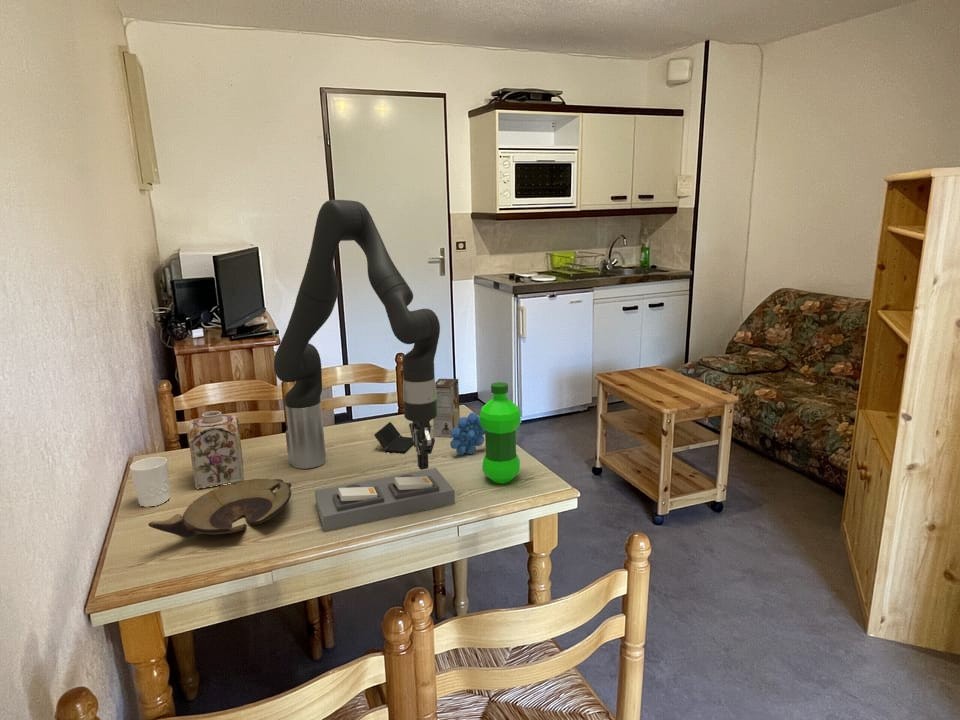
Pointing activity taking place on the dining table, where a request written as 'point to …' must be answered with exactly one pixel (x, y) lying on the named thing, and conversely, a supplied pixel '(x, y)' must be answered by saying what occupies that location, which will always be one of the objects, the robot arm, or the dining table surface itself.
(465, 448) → the grapes
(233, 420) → the decorative jar
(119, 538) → the dining table surface
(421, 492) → the rocker switch panel
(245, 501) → the oil lamp
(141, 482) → the white cup
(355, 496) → the left rocker
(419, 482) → the right rocker
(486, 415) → the plastic bottle
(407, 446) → the handheld gaming console
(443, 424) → the coffee box
